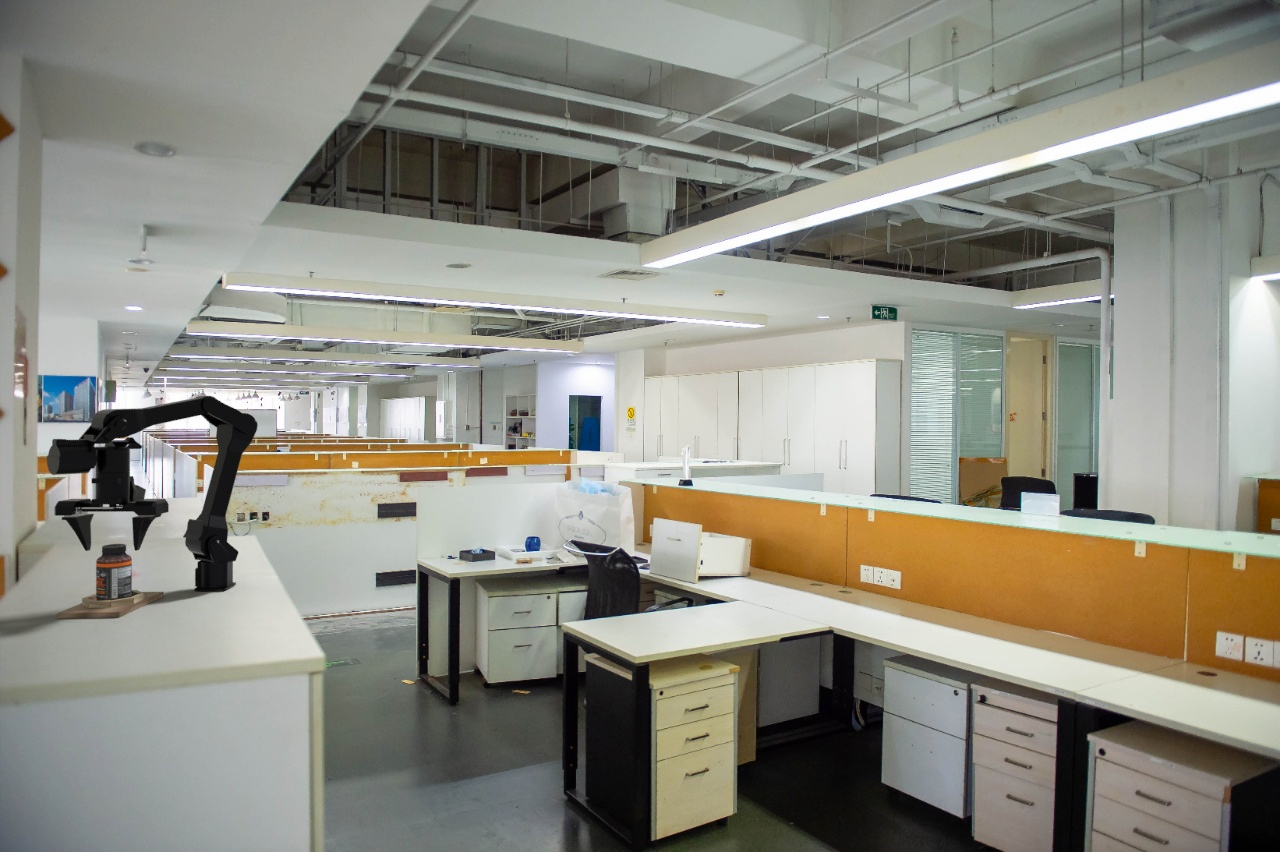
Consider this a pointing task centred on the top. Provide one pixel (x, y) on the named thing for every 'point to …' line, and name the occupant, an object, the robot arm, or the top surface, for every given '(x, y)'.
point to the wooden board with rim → (109, 606)
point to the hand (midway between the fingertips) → (112, 550)
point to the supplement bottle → (113, 573)
